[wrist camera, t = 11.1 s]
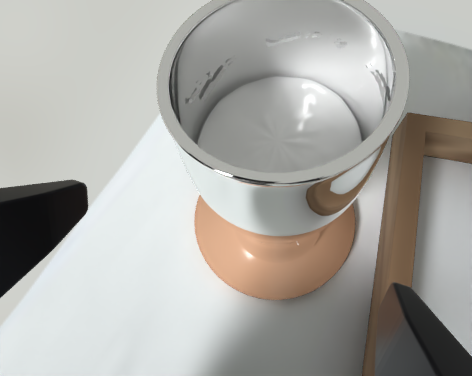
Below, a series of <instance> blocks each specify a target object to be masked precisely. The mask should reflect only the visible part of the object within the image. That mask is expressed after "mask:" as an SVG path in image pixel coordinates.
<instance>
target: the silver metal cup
mask: <svg viewBox="0 0 472 376" xmlns="http://www.w3.org/2000/svg"><path fill="white" fill-rule="evenodd" d="M409 83H410V73H409V64H408V59H407V55H406V52H405V49H404V47H403V44H402V42H401V40H400V38H399V36H398V34H397V33H396V31H395V30H394V28H393V27H392V25H391V24H390V23H389V22H388V21H387V20H386V18H385V17H384V16H383V15H382V14H381V13H379V12H378V11H377V10H376V9H375V8H374V7H372V6H371V5H370V4H369V3H367V2H366V1H364V0H212V1H210V2H209V3H207V4H206V5H204V6H203V7H201V8H200V9H199V10H197V11H196V12H195V13H194V14H192V15H191V16H190V17H189V18H188V19H187V20H186V21H185V22H184V23H183V24H182V26H181V27H180V28H179V29H178V30H177V32H176V33H175V34H174V36H173V37H172V39H171V40H170V42H169V44H168V46H167V48H166V50H165V52H164V54H163V57H162V60H161V63H160V66H159V70H158V76H157V98H158V104H159V109H160V113H161V116H162V119H163V121H164V123H165V125H166V127H167V129H168V131H169V133H170V134H171V136H172V137H173V140H174V142H175V145H176V148H177V150H178V152H179V155H180V157H181V159H182V162H183V164H184V166H185V168H186V171H187V173H188V175H189V176H190V178H191V180H192V182H193V184H194V185H195V187H196V189H197V191H198V192H199V194H200V195H201V197H202V198H203V199H204V201H205V202H206V203H207V205H208V206H209V207H210V208H211V210H212V211H213V212H214V213H215V214H216V215H217V216H218V217H219V218H220V219H221V220H222V221H223V222H224V223H226V224H227V225H228V226H230V227H231V228H233V229H234V233H235V235H236V238H237V240H238V241H239V243H240V244H241V246H242V247H243V248H244V249H245V250H246V251H247V252H248V253H249V254H250V255H252V256H253V257H255V258H257V259H259V260H262V261H265V262H269V263H287V262H291V261H294V260H297V259H299V258H301V257H302V256H304V255H305V254H306V253H308V252H309V251H310V250H311V249H312V248H313V246H314V245H315V244H316V242H317V240H318V238H319V236H320V233H321V231H322V230H323V229H325V228H326V227H328V226H329V225H331V224H332V223H333V222H335V221H336V220H337V219H338V218H339V217H340V216H341V215H342V214H343V213H344V212H345V211H346V210H347V209H348V208H349V206H350V205H351V204H352V203H353V202H354V200H355V199H356V198H357V197H358V195H359V194H360V192H361V191H362V189H363V188H364V186H365V184H366V183H367V181H368V179H369V178H370V176H371V174H372V172H373V171H374V169H375V167H376V164H377V162H378V160H379V158H380V156H381V154H382V152H383V150H384V148H385V145H386V143H387V141H388V138H389V136H390V134H391V132H392V131H393V129H394V128H395V126H396V125H397V123H398V121H399V119H400V117H401V115H402V113H403V110H404V108H405V105H406V101H407V97H408V92H409Z"/></svg>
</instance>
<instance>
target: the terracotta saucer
mask: <svg viewBox="0 0 472 376" xmlns="http://www.w3.org/2000/svg"><path fill="white" fill-rule="evenodd" d="M195 233H196V238H197V242H198V245H199V248H200V251H201V253H202V255H203V257H204V259H205V261H206V262H207V264H208V265H209V266H210V268H211V269H212V270H213V272H214V273H215V274H216V275H217V276H218V277H219V278H220V279H221V280H223V281H224V282H225V283H226V284H228V285H229V286H231V287H232V288H234V289H236V290H237V291H240V292H242V293H244V294H246V295H249V296H252V297H256V298H260V299H267V300H284V299H292V298H295V297H299V296H303V295H305V294H307V293H309V292H312V291H314V290H315V289H317V288H319V287H320V286H322V285H323V284H325V283H326V282H327V281H328V280H329V279H331V278H332V277H333V276H334V275H335V274H336V272H337V271H338V270H339V269H340V268H341V266H342V265H343V263H344V262H345V260H346V258H347V256H348V254H349V252H350V249H351V246H352V243H353V239H354V233H355V214H354V207H353V204H351V205H350V206H349V208H348V209H347V210H346V211H345V212H344V213H343V214H342V215H341V216H340V217H339V218H338V219H337V220H336V221H335V222H333V223H332V224H331V225H329V226H328V227H326V228H325V229H323V230H322V231H321V233H320V236H319V238H318V240H317V242H316V244H315V245H314V246H313V248H312V249H311V250H310V251H309V252H308V253H306V254H305V255H304V256H302V257H301V258H299V259H297V260H294V261H291V262H287V263H269V262H265V261H262V260H259V259H257V258H255V257H253V256H252V255H250V254H249V253H248V252H247V251H246V250H245V249H244V248H243V247H242V246H241V244H240V243H239V241H238V240H237V238H236V235H235V233H234V229H233V228H231V227H230V226H228V225H227V224H226V223H224V222H223V221H222V220H221V219H220V218H219V217H218V216H217V215H216V214H215V213H214V212H213V211H212V210H211V208H210V207H209V206H208V205H207V203H206V202H205V201H204V199H203V198H202V197H201V195H199V198H198V201H197V205H196V211H195Z"/></svg>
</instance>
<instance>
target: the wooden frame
mask: <svg viewBox="0 0 472 376" xmlns="http://www.w3.org/2000/svg"><path fill="white" fill-rule="evenodd" d="M424 155H425V156H431V157H437V158H442V159H448V160H454V161H460V162H465V163H471V164H472V122H466V121H460V120H453V119H447V118H440V117H434V116H427V115H421V114H414V113H407V114H406V116H405V118H404V119H403V121H402V122H401V124H400V125H399V127H398V128H397V130H396V131H395V133H394V134H393V137H392V144H391V152H390V160H389V168H388V176H387V183H386V191H385V199H384V207H383V214H382V222H381V230H380V238H379V246H378V253H377V261H376V269H375V277H374V284H373V292H372V300H371V308H370V315H369V323H368V331H367V339H366V347H365V354H364V362H363V370H362V376H375V354H376V337H377V320H378V310H379V307H380V304H381V302H382V300H383V298H384V296H385V294H386V292H387V290H388V288H389V286H390V284H391V283H393V282H396V283H399V284H402V285H406V286H409V287H410V288H411V287H412V277H413V266H414V255H415V244H416V233H417V222H418V211H419V200H420V190H421V179H422V168H423V157H424Z"/></svg>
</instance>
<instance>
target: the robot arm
mask: <svg viewBox="0 0 472 376" xmlns="http://www.w3.org/2000/svg"><path fill="white" fill-rule="evenodd" d="M87 210H88V196H87V187H86V185H85V184H84V183H81V182H79V181H76V180H66V181H58V182H50V183H41V184H32V185H24V186H15V187H8V188H0V298H1V297H2V296H3V295H4V294H5V293H6V292H7V291H9V290H10V289H11V288H12V287H13V286H14V285H15V284H16V283H17V282H18V281H20V280H21V279H22V278H23V277H24V276H25V275H26V274H27V273H28V272H29V271H31V269H33V268H34V267H35V266H36V265H37V264H38V263H39V262H40V261H41V260H43V259H44V258H45V257H46V256H47V255H48V254H49V253H50V252H51V251H52V250H53V249H54V248H55V247H56V246H57V245H58V244H59V243H60V242H61V241H62V240H63V238H64V237H65V236H66V235H67V234H68V233H69V232H70V231H71V230H72V228H73V227H74V226H75V225H76V224H77V223H78V222H79V221H80V220H81V219H82V217H83V216H84V215H85V214H86V212H87ZM375 376H472V357H471V355H470V354H469V353H468V352H467V351H466V350H465V349H464V347H463V346H462V345H461V344H460V343H459V342H458V341H457V339H456V338H455V337H454V336H453V335H452V334H451V333H450V331H449V330H448V329H447V328H446V327H445V326H444V325H443V324H442V322H441V321H440V320H439V319H438V318H437V317H436V316H435V314H434V313H433V312H432V311H431V310H430V309H429V308H428V306H427V305H426V304H425V303H424V302H423V301H422V300H421V299H420V297H419V296H418V295H417V294H416V293H415V292H414V291H413V289H412V288H410V287H409V286H406V285H402V284H399V283H396V282H393V283H391V284H390V286H389V288H388V290H387V292H386V294H385V296H384V298H383V300H382V302H381V304H380V307H379V310H378V320H377V337H376V354H375Z"/></svg>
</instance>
